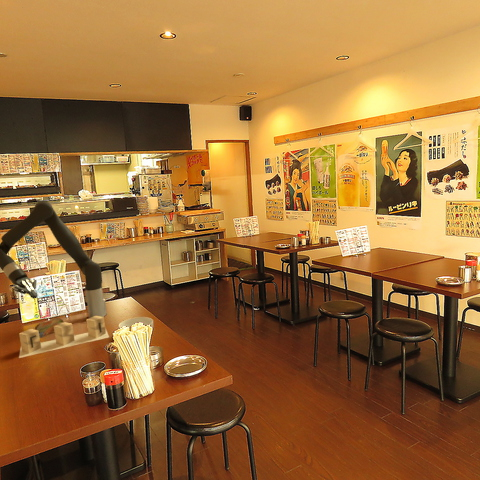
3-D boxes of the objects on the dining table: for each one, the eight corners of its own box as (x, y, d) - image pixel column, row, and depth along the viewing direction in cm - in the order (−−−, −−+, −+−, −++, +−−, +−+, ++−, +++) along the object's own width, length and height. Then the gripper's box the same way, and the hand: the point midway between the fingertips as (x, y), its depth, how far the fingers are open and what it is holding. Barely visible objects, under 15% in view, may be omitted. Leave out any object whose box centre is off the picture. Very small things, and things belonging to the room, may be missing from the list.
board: (105, 330, 209) (105, 328, 209) (109, 339, 197) (109, 337, 197) (21, 349, 192) (20, 347, 192) (19, 360, 180) (18, 357, 180)
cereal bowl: (119, 345, 189) (117, 331, 187) (120, 332, 204) (118, 319, 203) (155, 339, 193) (153, 325, 192) (153, 327, 209) (152, 314, 208)
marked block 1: (98, 332, 205) (96, 315, 204) (106, 333, 202) (104, 317, 200) (88, 336, 200) (86, 319, 199) (96, 338, 197) (94, 321, 195)
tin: (37, 341, 201) (35, 325, 200) (34, 340, 203) (32, 324, 202) (65, 331, 213) (63, 316, 212) (62, 330, 215) (60, 315, 214)
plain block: (67, 338, 199) (64, 321, 197) (74, 340, 195) (72, 323, 194) (56, 343, 194) (53, 326, 192) (63, 345, 190) (61, 327, 189)
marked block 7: (34, 346, 192) (31, 328, 191) (41, 348, 189) (38, 330, 187) (22, 351, 187) (19, 333, 186) (29, 353, 184) (26, 335, 182)
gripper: (5, 271, 195) (27, 296, 192) (29, 265, 207) (49, 288, 204) (0, 281, 197) (21, 306, 195) (23, 274, 209) (43, 298, 207)
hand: (35, 297), depth 199 cm, fingers closed
